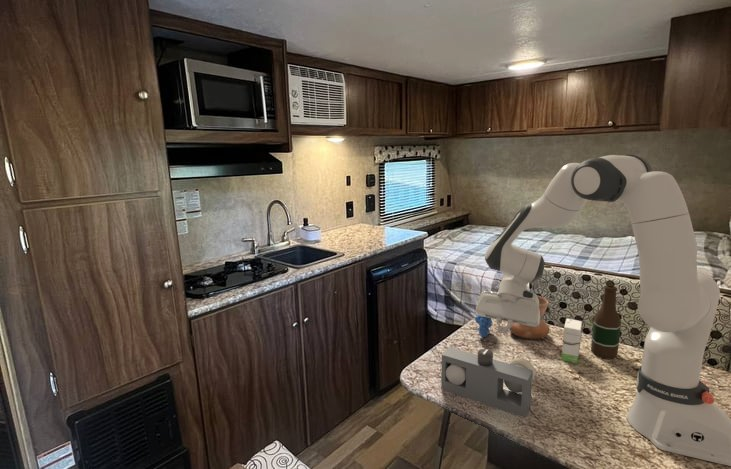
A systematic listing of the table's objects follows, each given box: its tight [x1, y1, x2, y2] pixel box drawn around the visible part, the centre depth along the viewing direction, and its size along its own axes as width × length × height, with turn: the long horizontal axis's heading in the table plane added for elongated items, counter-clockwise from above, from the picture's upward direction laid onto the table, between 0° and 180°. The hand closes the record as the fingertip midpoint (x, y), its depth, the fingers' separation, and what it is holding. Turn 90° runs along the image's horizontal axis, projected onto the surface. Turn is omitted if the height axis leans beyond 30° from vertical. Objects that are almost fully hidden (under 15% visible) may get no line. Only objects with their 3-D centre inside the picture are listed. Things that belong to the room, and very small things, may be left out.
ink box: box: [561, 318, 583, 364], centre depth 130 cm, size 9×5×12 cm, turn 149°
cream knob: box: [503, 357, 536, 394], centre depth 110 cm, size 7×8×7 cm
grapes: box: [474, 314, 493, 339], centre depth 147 cm, size 12×7×12 cm, turn 147°
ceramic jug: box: [508, 295, 550, 340], centre depth 147 cm, size 18×14×14 cm
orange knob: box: [446, 364, 466, 385], centre depth 114 cm, size 7×8×7 cm
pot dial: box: [477, 348, 494, 366], centre depth 107 cm, size 4×4×3 cm
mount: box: [440, 346, 533, 419], centre depth 109 cm, size 24×6×11 cm, turn 55°
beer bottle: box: [590, 284, 622, 360], centre depth 130 cm, size 8×8×24 cm
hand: (502, 332), depth 127 cm, fingers closed
